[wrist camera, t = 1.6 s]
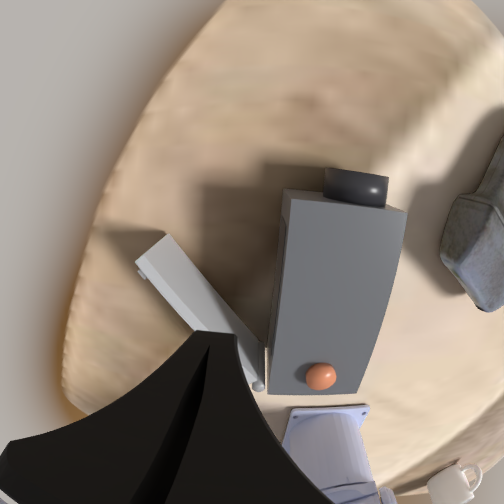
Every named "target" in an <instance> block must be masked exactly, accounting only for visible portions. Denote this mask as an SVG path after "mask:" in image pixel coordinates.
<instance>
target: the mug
mask: <svg viewBox="0 0 504 504" xmlns="http://www.w3.org/2000/svg"><path fill="white" fill-rule="evenodd" d="M467 469H473V470H474V471H475V473H476V480H475V483H474V484H473V485H472V486H471V487H470V485H469V483H468V481H467V478H466V476H465V474H464V471H466V470H467ZM481 479H482V471H481V468H480V467H479V466H478V465H477V464H475V463H469V464H466V465H464V466H462V467H461V466H460V465H459V464H454V465H451V466H449V467H447V468H445V469H443V470H442V471H440V472H438V473H437V474H436V475H434V476H433V477H432V478H430V479H429V480H428V482H427V488H428V491H429V493H430V496H431V499H432V502H433V504H466V503H467V502H468V501H470V500H471V499H473V498H474V495H473V491H474V490H475V489H476V488H477V487H478V486H479V484H480V482H481Z"/></svg>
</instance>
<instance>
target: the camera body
mask: <svg viewBox="0 0 504 504" xmlns="http://www.w3.org/2000/svg"><path fill="white" fill-rule="evenodd" d="M388 182H389V177H386V176H380V175H374V174H369V173H362V172H356V171H349V170H342V169H335V168H327V167H325V177H324V188H323V192H314V191H305V190H294V189H283V196H282V207H281V219H280V230H279V240H278V251H277V261H276V271H275V280H274V290H273V299H272V308H271V317H270V325H269V334H268V342H267V394H270V395H335V394H353V393H357V391H358V388H359V386H360V383H361V381H362V378H363V376H364V373H365V371H366V368H367V365H368V363H369V360H370V357H371V355H372V352H373V349H374V346H375V343H376V340H377V337H378V334H379V331H380V328H381V325H382V322H383V319H384V315H385V312H386V309H387V305H388V302H389V298H390V294H391V291H392V287H393V283H394V279H395V275H396V271H397V266H398V262H399V257H400V253H401V248H402V243H403V238H404V233H405V227H406V221H407V215H408V213H407V212H404V211H402V210H399V209H397V208H395V207H392V206H390V205H387V204H386V198H387V191H388Z"/></svg>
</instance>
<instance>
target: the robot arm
mask: <svg viewBox="0 0 504 504" xmlns="http://www.w3.org/2000/svg"><path fill="white" fill-rule="evenodd" d="M369 410H370V407H369V405H359V406H346V407H328V408H295V409H293V410H292V411H291V413H290V417H289V421H288V425H287V428H286V432H285V435H284V439H283V442H282V445H281V444H280V442H279V441H278V440H277V438H276V436H275V435H274V433H273V432H272V430H271V429H270V427H269V425H268V424H267V422H266V420H265V418H264V417H263V415H262V413H261V411H260V409H259V407H258V405H257V403H256V401H255V399H254V397H253V394H252V392H251V390H250V387H249V385H248V382H247V380H246V377H245V374H244V371H243V368H242V364H241V361H240V356H239V351H238V337H237V336H236V335H235V334H234V333H223V332H212V331H203V330H196V331H194V332H193V333H192V334H191V335H190V337H189V338H188V339H187V340H186V341H185V342H184V343H183V344H182V345H181V346H180V347H179V348H178V349H177V350H176V352H175V353H174V354H173V355H171V356H170V357H169V358H168V359H167V360H166V361H165V362H164V363H163V364H162V365H161V366H160V367H159V368H158V369H157V370H155V371H154V372H153V373H152V374H151V375H150V376H148V377H147V378H146V379H145V380H144V381H142V382H141V383H140V384H139V385H137V386H136V387H135V388H133V389H132V390H131V391H129V392H128V393H126V394H125V395H123V396H122V397H120V398H119V399H117V400H116V401H114V402H113V403H111V404H109V405H108V406H106V407H104V408H102V409H101V410H99V411H97V412H95V413H93V414H91V415H89V416H87V417H86V418H83V419H81V420H79V421H76V422H74V423H72V424H69V425H67V426H64V427H61V428H59V429H56V430H53V431H50V432H47V433H44V434H40V435H36V436H32V437H27V438H23V439H19V440H14V441H10V442H9V443H8V445H7V446H6V448H5V449H4V451H3V452H2V454H1V456H0V489H1V490H2V491H3V492H4V493H5V494H7V495H8V496H9V497H10V498H12V499H13V500H14V501H16V502H17V503H18V504H380V499H379V495H378V491H377V487H376V484H375V481H374V480H373V476H372V472H371V468H370V465H369V461H368V457H367V454H366V450H365V447H364V443H363V440H362V436H361V433H360V427H361V425H362V424H363V422H364V420H365V418H366V416H367V414H368V412H369ZM379 491H380V495H381V497H380V498H381V502H382V504H397V502H396V499H395V496H394V493H393V490H392V489H389V488H386V487H385V486H383V487H381V488H379ZM0 504H7V503H6V502H4V501H3V500H2V499H1V498H0Z"/></svg>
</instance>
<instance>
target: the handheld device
mask: <svg viewBox="0 0 504 504" xmlns="http://www.w3.org/2000/svg"><path fill="white" fill-rule="evenodd" d="M440 257H441V260H442V262H443V263H444V264H445V266H446V267H447V268H448V269H449V270H450V271H451V273H452V274H453V275H454V276H455V277H456V279H457V280H458V282H459V283H460V284H461V286H462V287H463V288H464V290H465V291H466V293H467V294H468V295H469V297H470V298H471V299H472V301H473V302H474V304H475V305H476V307H477V308H478V309H480V310H481V311H484V312H493V311H495V310H497V309H498V308H500V307H501V306H503V305H504V135H503V137H502V139H501V141H500V143H499V145H498V147H497V150H496V152H495V154H494V157H493V159H492V161H491V163H490V165H489V167H488V169H487V172H486V174H485V176H484V178H483V180H482V182H481V184H480V186H479V188H478V190H477V191H476V192H474V193H472V194H461V195H459V196H458V197H457V199H456V200H455V202H454V204H453V206H452V208H451V211H450V214H449V216H448V220H447V223H446V226H445V229H444V234H443V238H442V242H441V247H440Z"/></svg>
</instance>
